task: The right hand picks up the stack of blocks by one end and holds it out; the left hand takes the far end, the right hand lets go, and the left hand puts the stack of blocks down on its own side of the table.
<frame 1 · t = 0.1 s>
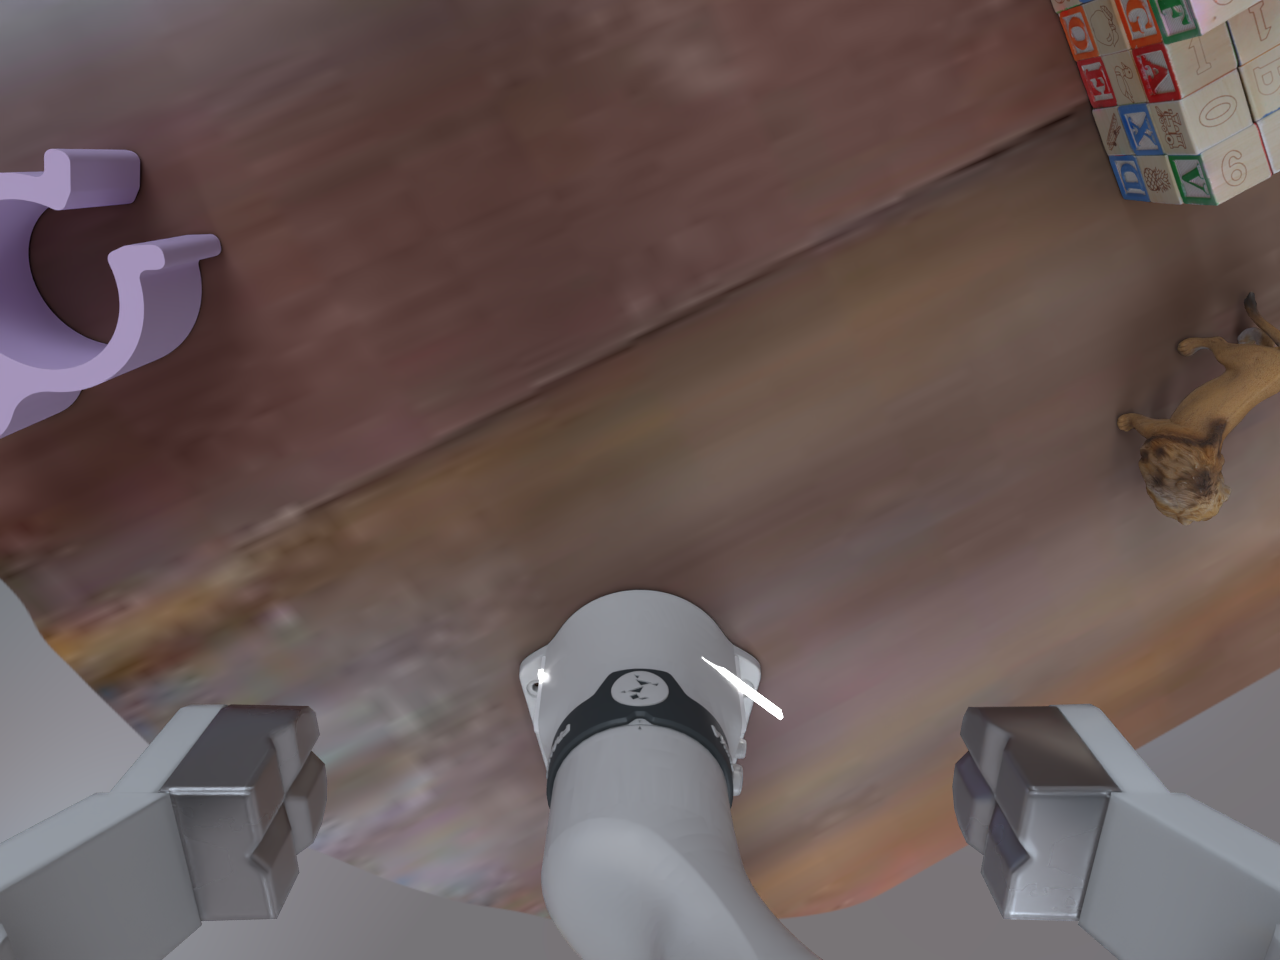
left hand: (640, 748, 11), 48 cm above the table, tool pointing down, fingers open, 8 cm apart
lion figurine: (1173, 396, 58), on the table
clip: (81, 297, 56), on the table
stack of blocks: (1113, 9, 50), on the table
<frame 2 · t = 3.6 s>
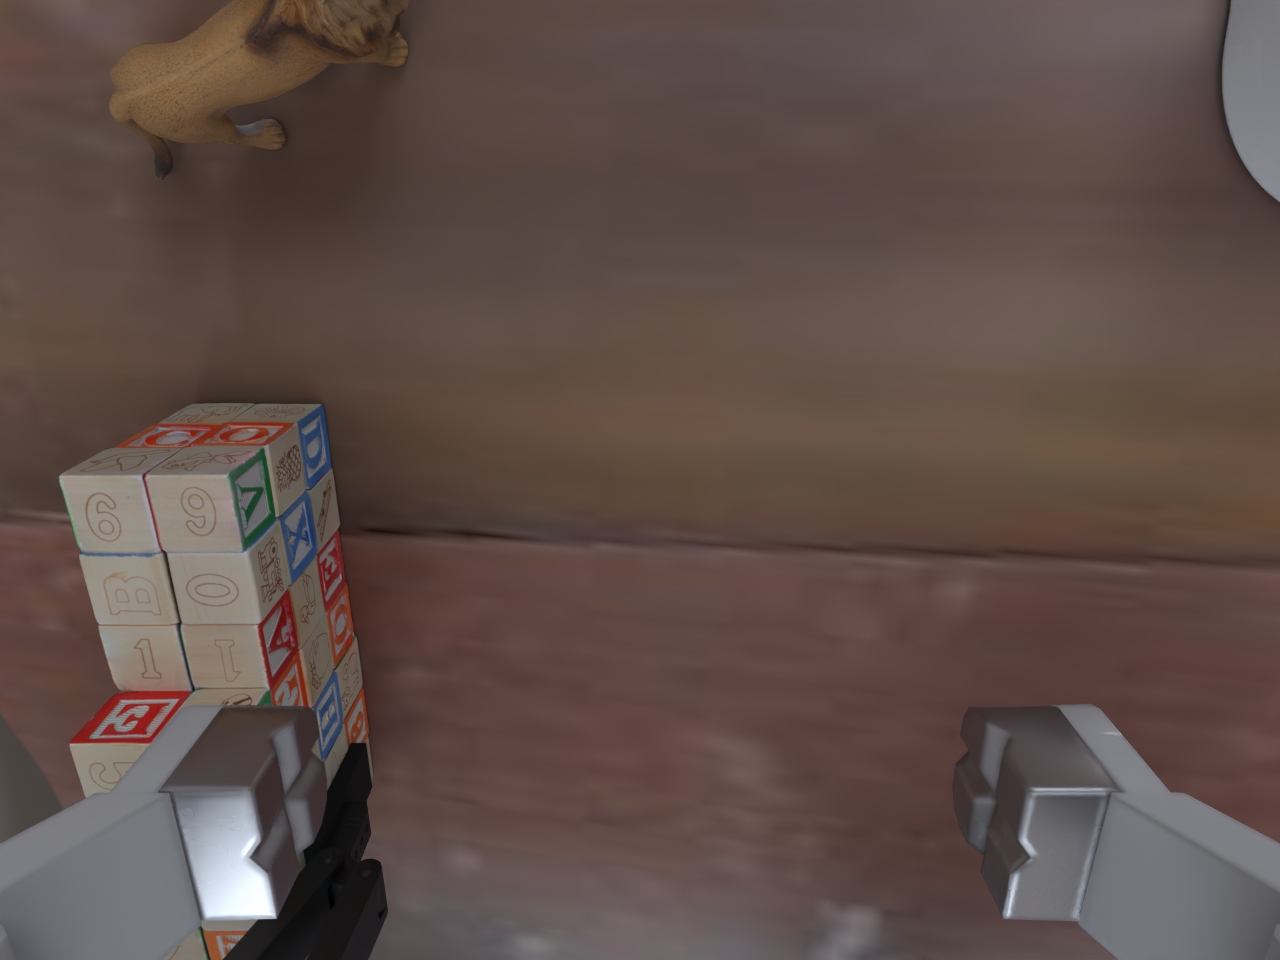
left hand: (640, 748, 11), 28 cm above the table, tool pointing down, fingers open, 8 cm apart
lion figurine: (304, 47, 33), on the table
stack of blocks: (291, 607, 42), on the table, touching right hand
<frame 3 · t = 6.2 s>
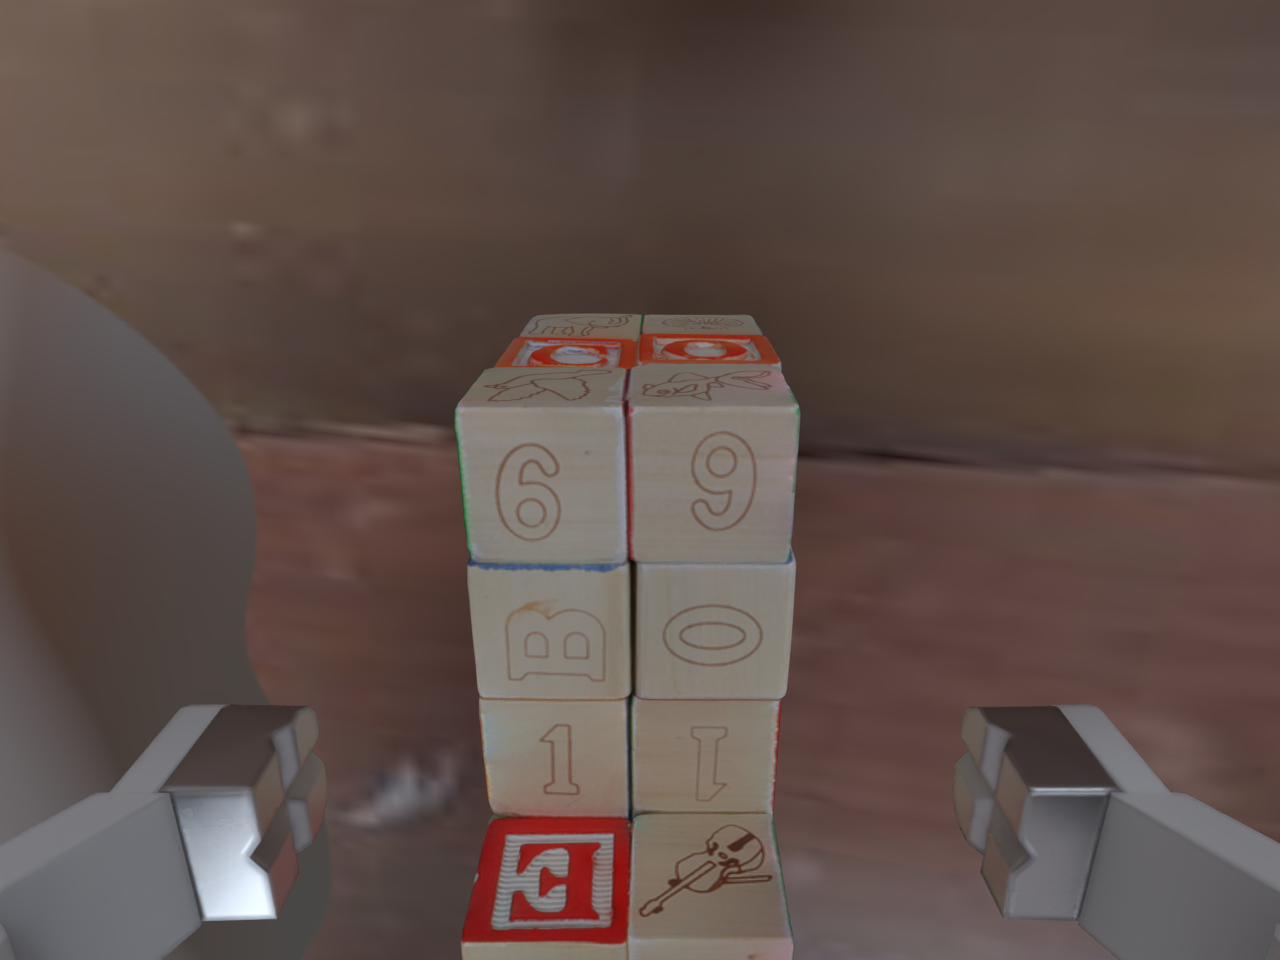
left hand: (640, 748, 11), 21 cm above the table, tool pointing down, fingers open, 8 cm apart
stack of blocks: (639, 645, 27), point 7 cm above the table, touching right hand
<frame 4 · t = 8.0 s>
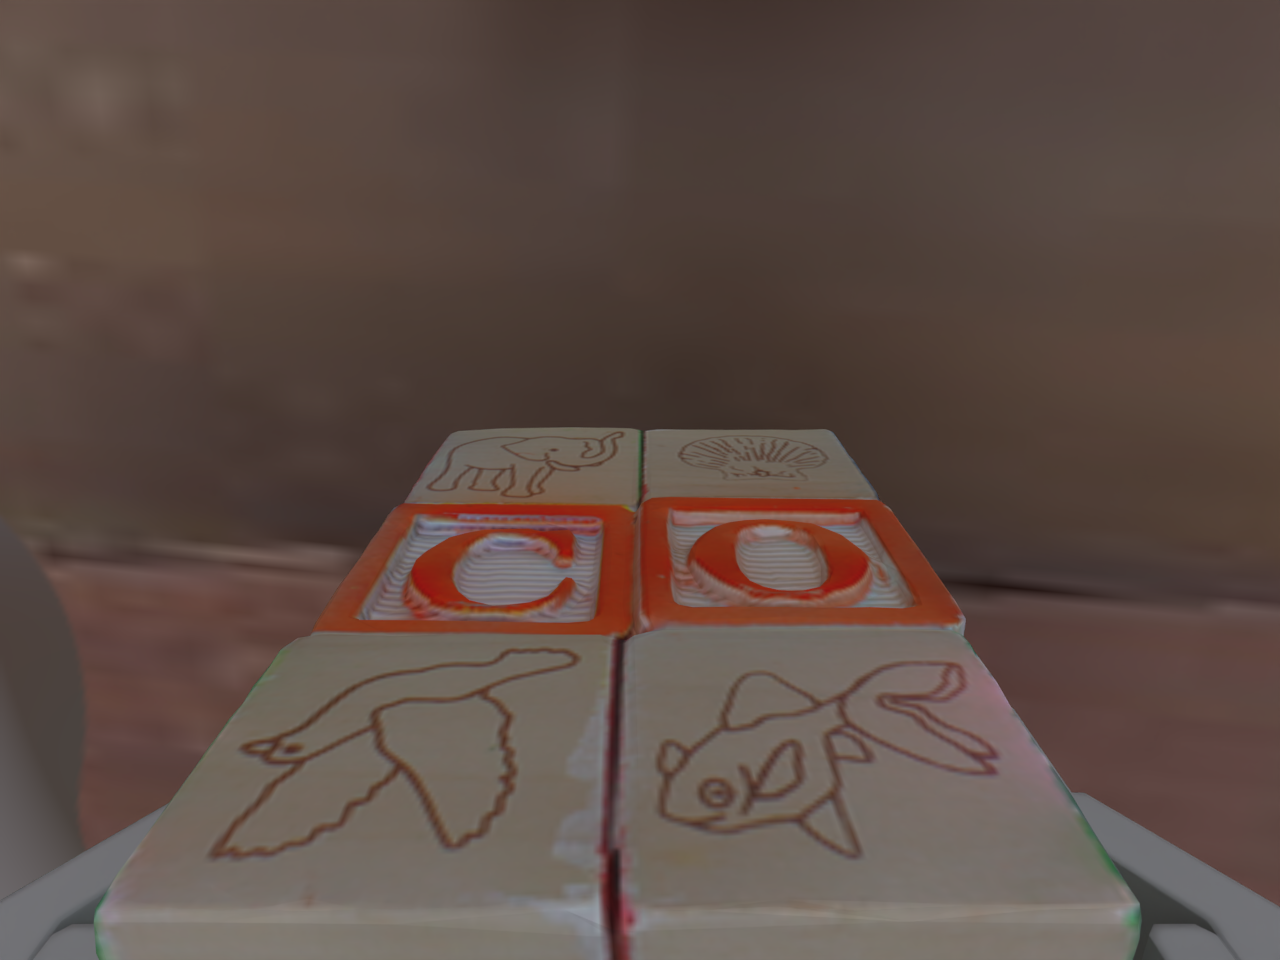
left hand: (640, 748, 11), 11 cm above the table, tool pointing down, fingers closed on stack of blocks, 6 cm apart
stack of blocks: (637, 923, 17), point 7 cm above the table, touching left hand, right hand
when the right hand's fingers open (9 cm above the table, at t = 8.9 s): stack of blocks stays where it is, held by the left hand.
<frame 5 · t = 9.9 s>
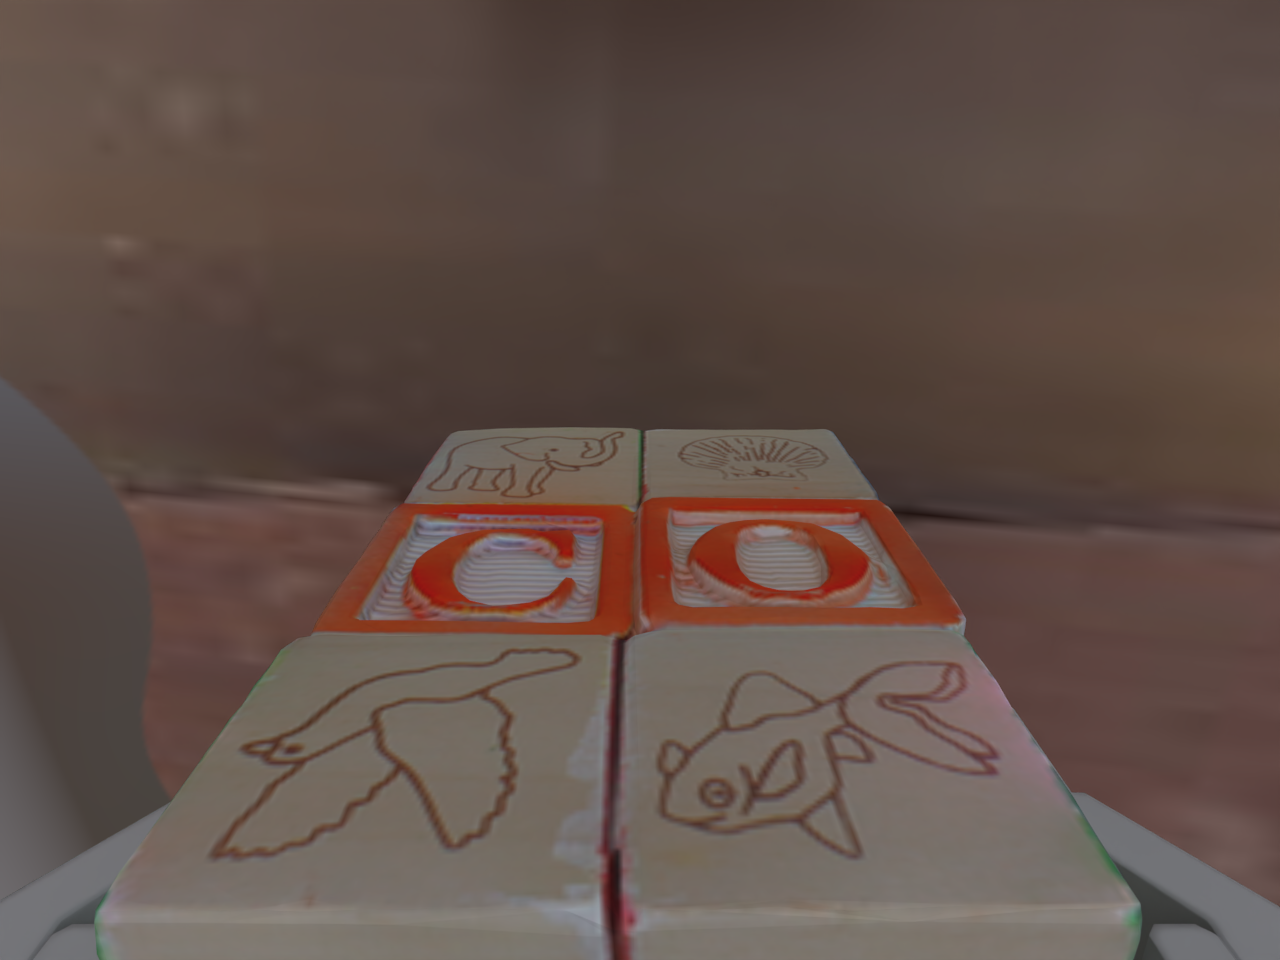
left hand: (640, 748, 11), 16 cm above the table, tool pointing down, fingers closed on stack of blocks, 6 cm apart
stack of blocks: (637, 923, 17), point 11 cm above the table, touching left hand
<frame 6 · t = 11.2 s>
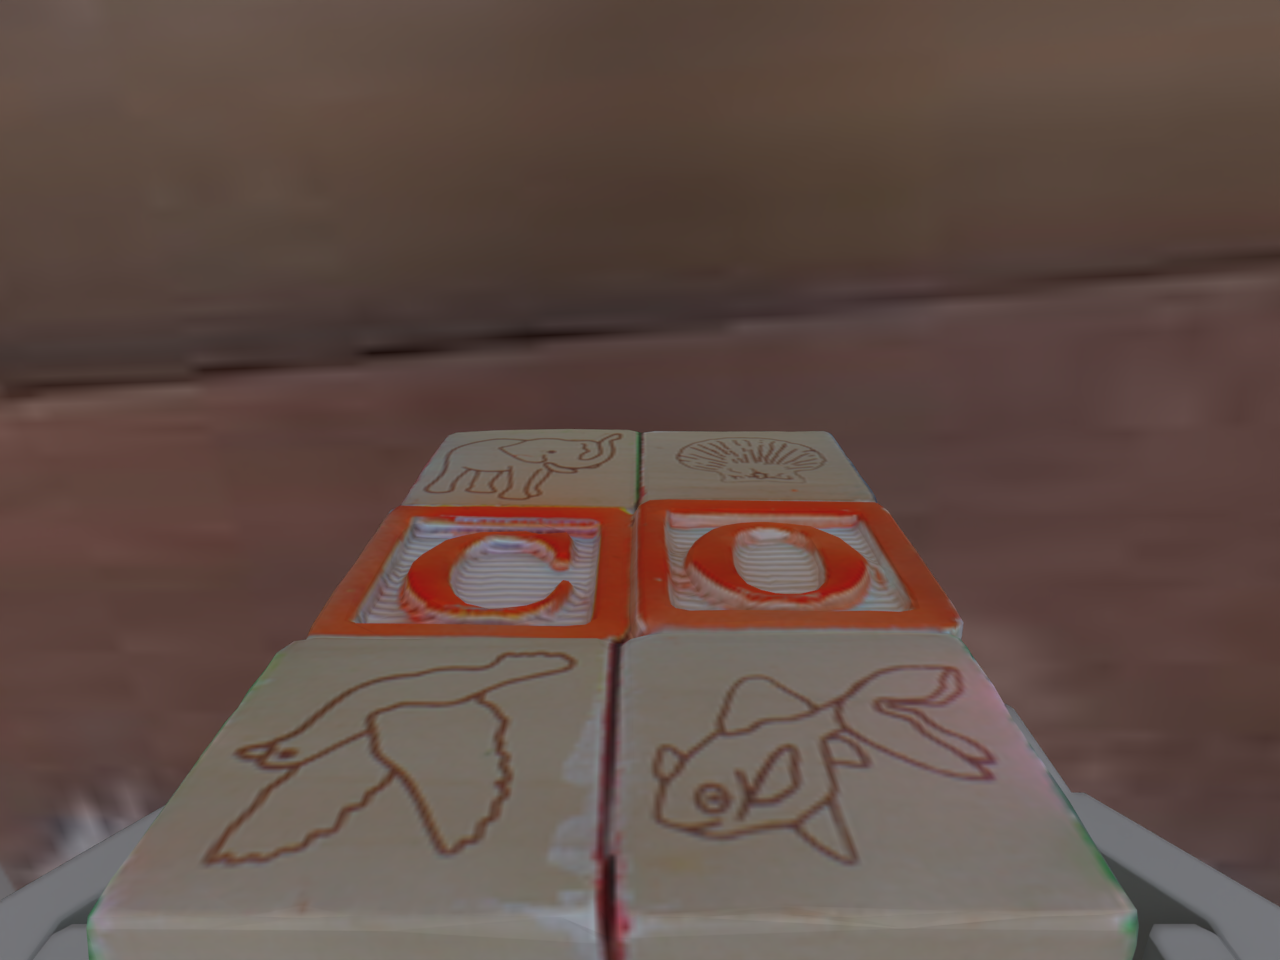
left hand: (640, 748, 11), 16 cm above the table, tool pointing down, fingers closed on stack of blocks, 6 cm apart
stack of blocks: (635, 925, 17), point 12 cm above the table, touching left hand
when the left hand's fingers open (5 cm above the table, at t = 15.0 s): stack of blocks stays where it is, on the table.
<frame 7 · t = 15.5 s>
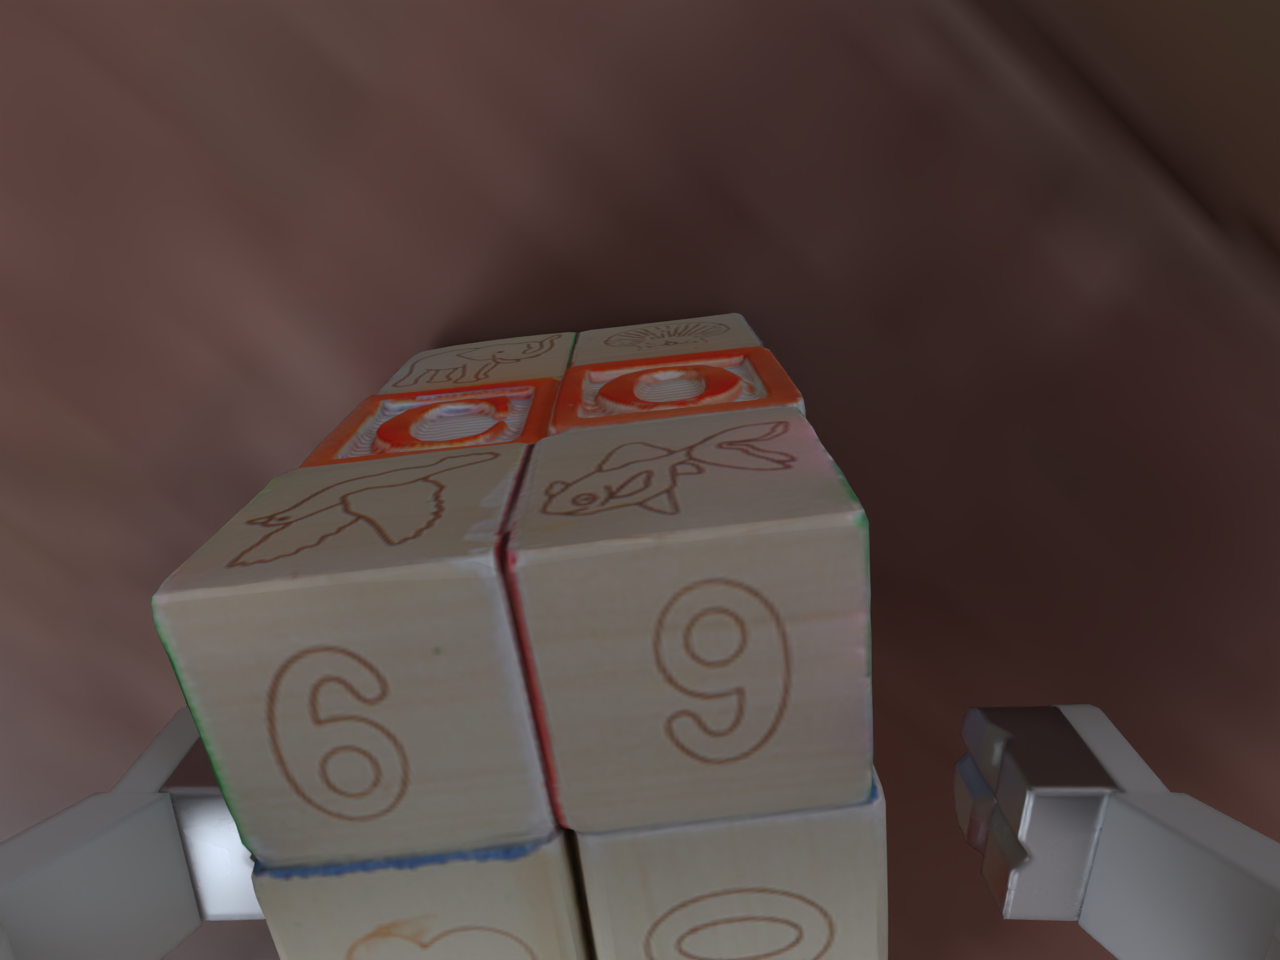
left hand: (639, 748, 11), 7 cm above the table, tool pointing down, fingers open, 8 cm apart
stack of blocks: (640, 786, 19), on the table
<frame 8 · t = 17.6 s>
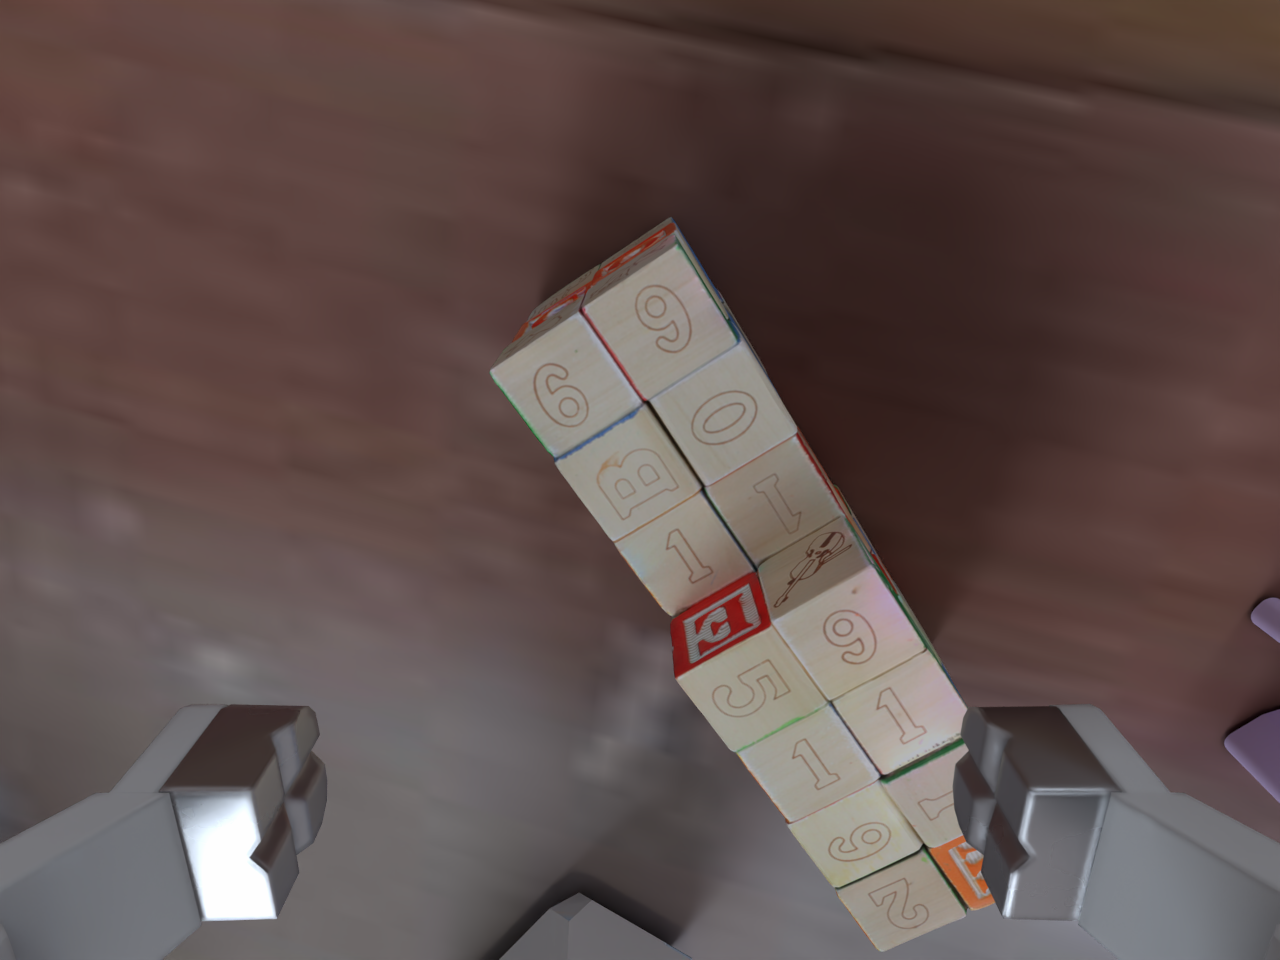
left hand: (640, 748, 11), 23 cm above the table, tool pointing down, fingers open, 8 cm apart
stack of blocks: (747, 492, 34), on the table
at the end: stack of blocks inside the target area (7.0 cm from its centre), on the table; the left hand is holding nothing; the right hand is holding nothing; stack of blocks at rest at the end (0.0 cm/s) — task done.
